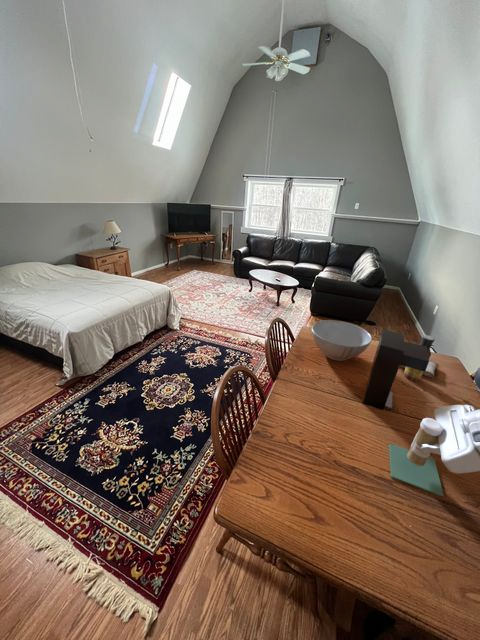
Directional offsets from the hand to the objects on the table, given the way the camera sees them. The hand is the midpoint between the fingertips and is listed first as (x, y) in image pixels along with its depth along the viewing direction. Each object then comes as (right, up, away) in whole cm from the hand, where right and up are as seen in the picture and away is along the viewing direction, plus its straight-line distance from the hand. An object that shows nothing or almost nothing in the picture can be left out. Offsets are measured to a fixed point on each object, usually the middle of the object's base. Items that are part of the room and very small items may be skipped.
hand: (421, 441), depth 72 cm
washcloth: (+31, +11, +53) cm, 62 cm away
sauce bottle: (+25, +8, +44) cm, 51 cm away
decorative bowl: (-2, +16, +59) cm, 61 cm away
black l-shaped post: (+6, +2, +30) cm, 30 cm away
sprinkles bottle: (0, -6, +3) cm, 7 cm away
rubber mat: (0, -9, +4) cm, 10 cm away
